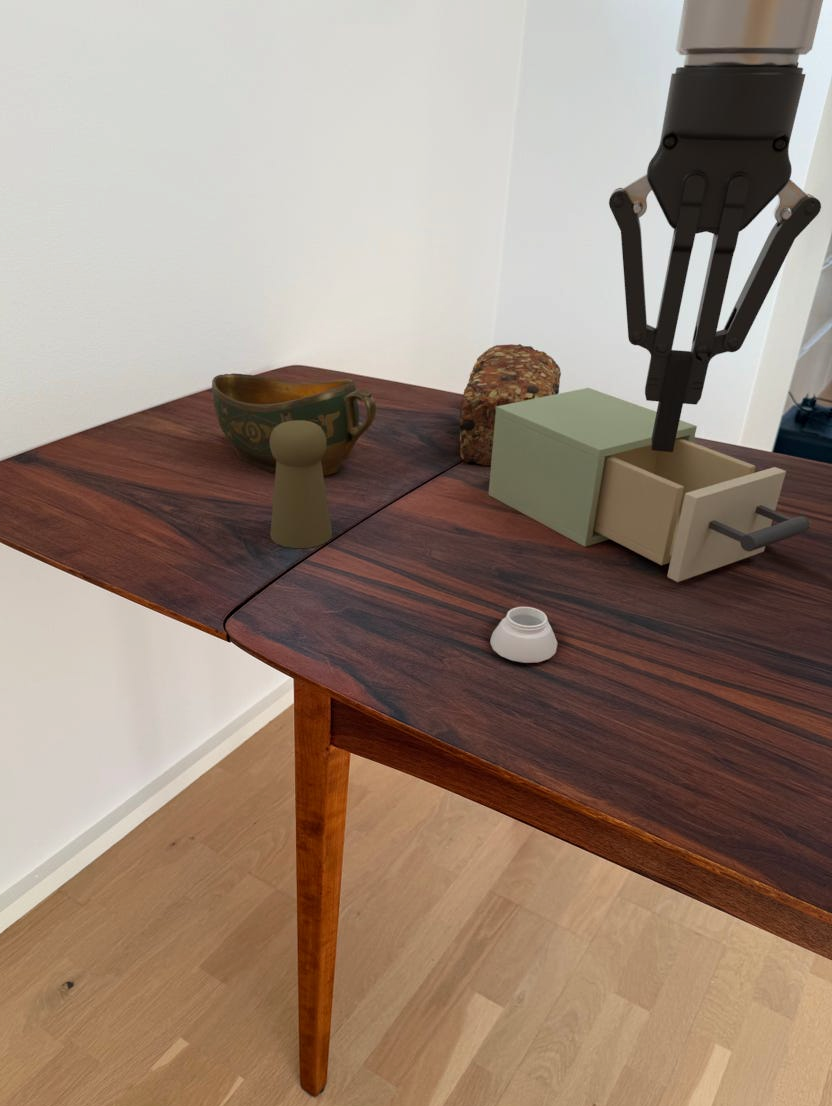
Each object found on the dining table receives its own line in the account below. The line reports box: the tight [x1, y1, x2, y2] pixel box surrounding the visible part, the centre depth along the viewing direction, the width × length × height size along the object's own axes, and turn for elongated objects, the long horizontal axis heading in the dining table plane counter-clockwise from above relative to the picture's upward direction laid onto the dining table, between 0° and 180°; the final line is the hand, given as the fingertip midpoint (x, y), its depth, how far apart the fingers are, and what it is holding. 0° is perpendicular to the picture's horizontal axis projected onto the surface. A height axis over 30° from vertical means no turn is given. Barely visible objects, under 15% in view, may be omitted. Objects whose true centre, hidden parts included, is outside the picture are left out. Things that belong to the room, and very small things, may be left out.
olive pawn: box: [269, 420, 333, 549], centre depth 83 cm, size 6×6×11 cm
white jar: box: [489, 606, 558, 664], centre depth 67 cm, size 5×3×5 cm
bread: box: [459, 343, 562, 466], centre depth 105 cm, size 19×11×10 cm, turn 166°
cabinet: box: [487, 387, 698, 548], centre depth 89 cm, size 15×13×10 cm
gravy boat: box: [211, 373, 377, 477], centre depth 99 cm, size 13×20×10 cm, turn 28°
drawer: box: [593, 438, 810, 583], centre depth 79 cm, size 18×11×8 cm, turn 31°
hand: (662, 444), depth 65 cm, fingers closed
